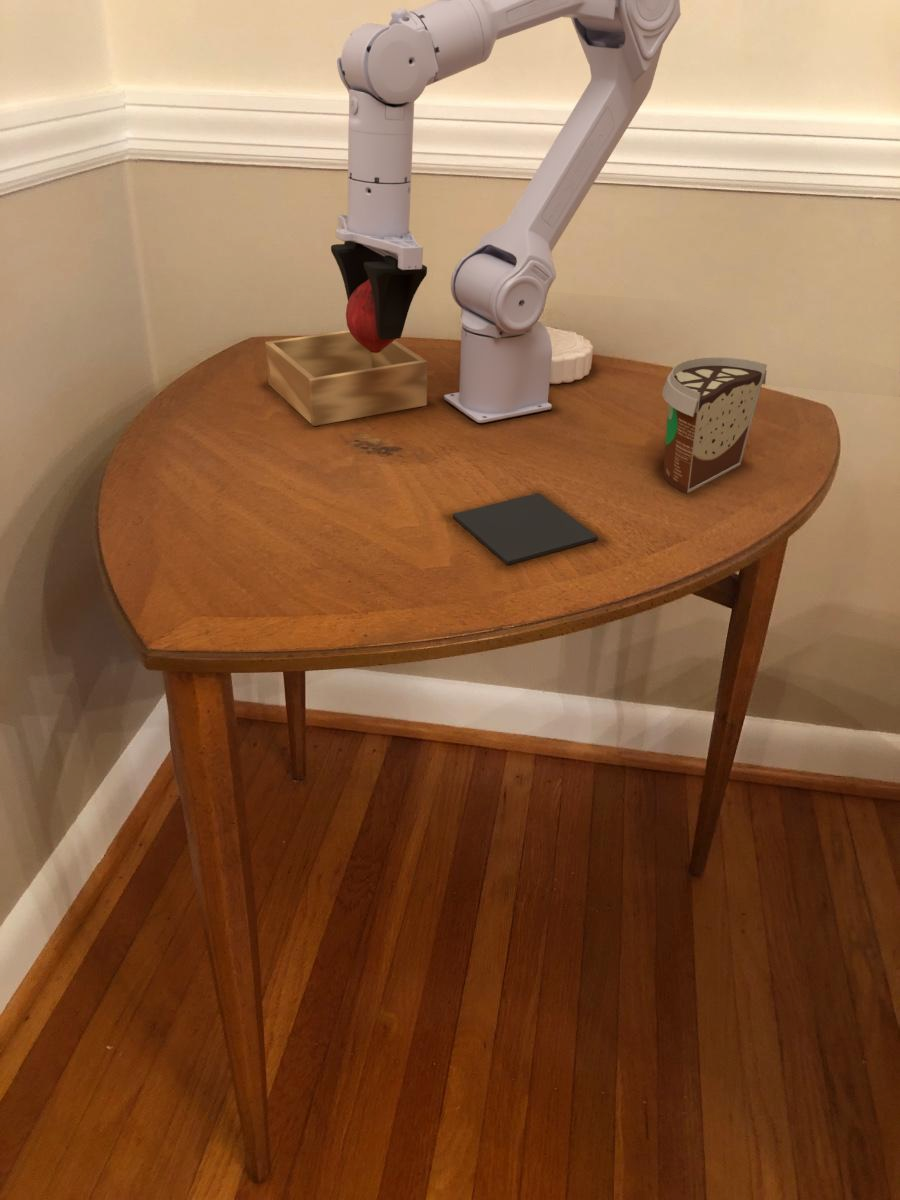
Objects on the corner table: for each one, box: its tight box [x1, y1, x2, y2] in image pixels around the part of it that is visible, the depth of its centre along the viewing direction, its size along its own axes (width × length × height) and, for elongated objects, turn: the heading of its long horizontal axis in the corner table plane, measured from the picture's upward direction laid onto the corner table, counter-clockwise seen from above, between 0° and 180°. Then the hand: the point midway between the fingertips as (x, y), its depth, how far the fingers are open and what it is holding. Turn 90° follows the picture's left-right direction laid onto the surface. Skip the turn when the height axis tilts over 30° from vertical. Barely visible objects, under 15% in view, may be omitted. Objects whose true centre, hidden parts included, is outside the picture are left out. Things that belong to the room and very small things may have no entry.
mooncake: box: [544, 326, 594, 385], centre depth 114 cm, size 12×12×4 cm
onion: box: [345, 279, 396, 353], centre depth 92 cm, size 6×6×8 cm
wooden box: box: [264, 329, 428, 427], centre depth 104 cm, size 13×13×5 cm
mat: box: [452, 492, 599, 566], centre depth 81 cm, size 9×9×1 cm
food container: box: [661, 356, 768, 494], centre depth 89 cm, size 12×6×10 cm, turn 135°
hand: (375, 328), depth 92 cm, fingers closed on onion, 6 cm apart
